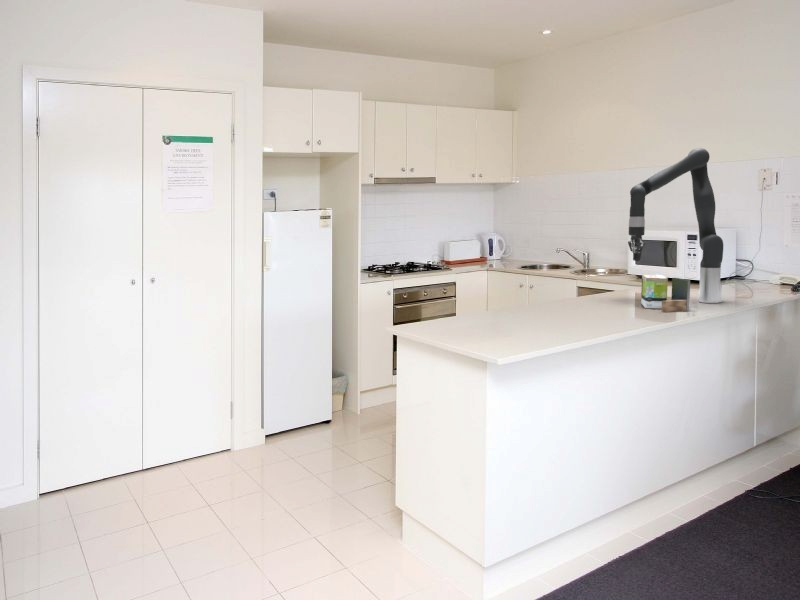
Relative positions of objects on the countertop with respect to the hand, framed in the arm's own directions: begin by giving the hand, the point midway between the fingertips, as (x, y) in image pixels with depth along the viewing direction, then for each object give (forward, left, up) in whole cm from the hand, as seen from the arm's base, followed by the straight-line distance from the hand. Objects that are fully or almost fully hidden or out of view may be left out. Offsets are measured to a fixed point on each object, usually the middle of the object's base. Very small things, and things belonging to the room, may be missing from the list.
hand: (635, 260), depth 349 cm
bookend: (-7, +30, -20) cm, 37 cm away
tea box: (0, +19, -21) cm, 28 cm away
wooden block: (-1, +35, -20) cm, 41 cm away
